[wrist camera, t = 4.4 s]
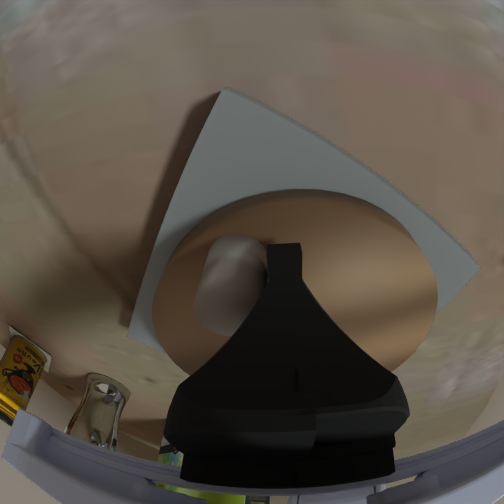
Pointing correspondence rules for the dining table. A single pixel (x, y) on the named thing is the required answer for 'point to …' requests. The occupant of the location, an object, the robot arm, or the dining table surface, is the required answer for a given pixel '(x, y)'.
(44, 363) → the condiment
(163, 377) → the dining table surface
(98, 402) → the beer glass
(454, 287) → the base plate
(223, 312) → the handwheel
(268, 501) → the tea box
